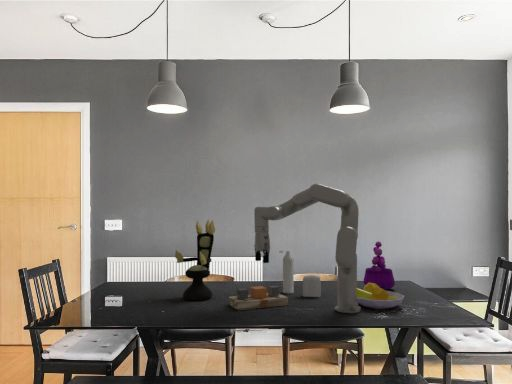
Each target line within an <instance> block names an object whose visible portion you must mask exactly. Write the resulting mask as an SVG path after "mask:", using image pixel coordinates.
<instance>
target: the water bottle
mask: <svg viewBox="0 0 512 384" xmlns="http://www.w3.org/2000/svg"><path fill="white" fill-rule="evenodd" d="M280 253H281V254H282V253H284V250H279V254H280ZM294 273H295V272H294V258H293V256H292V254H291V251H290V250H287V251H286V252H285V254H284V256H283V257H282V293H283V294H293V293H294V289H295V288H294V287H295V285H294V281H295V280H294V277H295V276H294Z"/></svg>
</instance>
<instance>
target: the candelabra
mask: <svg viewBox="0 0 512 384" xmlns="http://www.w3.org/2000/svg"><path fill="white" fill-rule="evenodd" d="M195 229H196V234H197V236H196V248H197V251H196V255H197V256H193V257H185V258H184V257H183V254H182V253H181V252H180V251H178V250H177V249H175V257H174V258H175V260H176V263H177V264H179V263H188V262H195V261H196V265H192V266H189V268H188V269H186V271H185V276H186V277H187V278H188V279H192V281H191V282H192V283H191V284H190V285H189V286H188V287H187V288H185V290H184V292H182V293H183V294H182V298H183V299H184V300H186V301H191V302H192V301H193V302H195V301H196V302H197V301H199V302H200V301H205V300H210V299H211V298H212V297H213V292H212V290H211V289H210V288H209V287H208V286H207V285H206V284H205V283H204V280H203V279H205V278H208V277H209V276H210V274H211V271H210V264H211V262H212V258H211V255H212V252H213V250H212V249H213V246H214V240H215V239H214V238H215V236H214V234H215V232H216V227H215V223H214V220H213V219H212V220H211V222H210V219H209V218H208V219H207V221H206V223H205V232H203V227H202V226H201V224H200V222H199V220H198V219H197V220H196V224H195Z"/></svg>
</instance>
